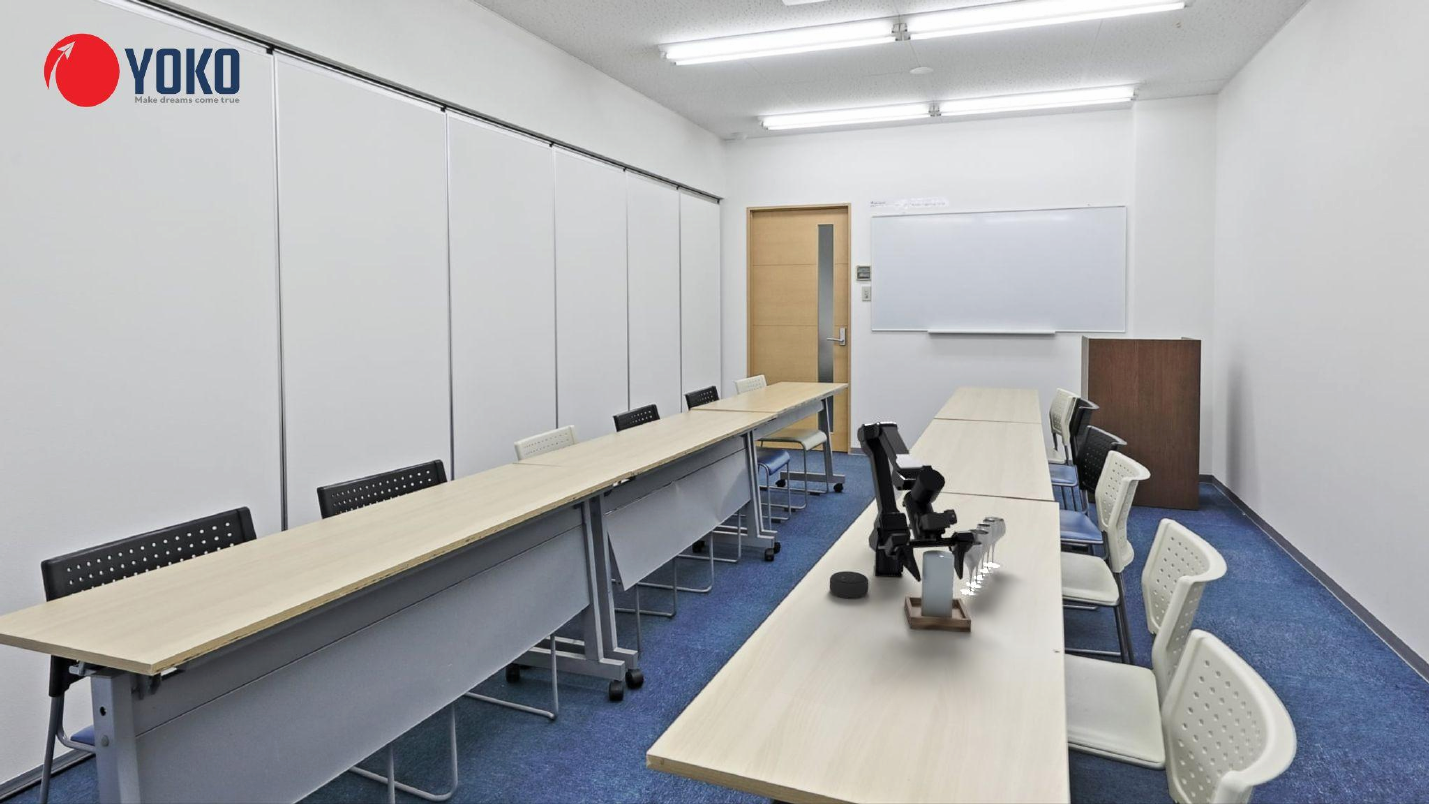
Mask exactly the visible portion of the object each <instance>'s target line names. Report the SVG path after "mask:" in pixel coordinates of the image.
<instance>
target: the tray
mask: <svg viewBox="0 0 1429 804" xmlns="http://www.w3.org/2000/svg"><path fill="white" fill-rule="evenodd" d="M904 609H905V612H906V616H907V621H908V625H909V628H910V629H912V630H926V631H927V630H928V631H945V632H946V631H947V632H965V633H971V632H972V618H971V617H970V615H969V612H968V610H967V608H966V606H965V604H964V602H963V599H962V598H957V597H953V606H952V617H951V618H948V617H929V616H923V615H922V614H921V596H919V595H905V596H904Z"/></svg>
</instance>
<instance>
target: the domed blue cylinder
mask: <svg viewBox="0 0 1429 804" xmlns="http://www.w3.org/2000/svg"><path fill="white" fill-rule="evenodd" d="M921 571H922V572H921V614H922V615H923V616H929V617H948V618H951V617H952V606H953V598H954V575H955V568H954V555H953V554H952V552H950V551H945V550H937V549H936V550H935V549H934V550H933V549H932V550H931V549H929V550H926V551H923V553H922V569H921Z"/></svg>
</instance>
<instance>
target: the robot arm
mask: <svg viewBox="0 0 1429 804" xmlns="http://www.w3.org/2000/svg"><path fill="white" fill-rule="evenodd" d="M856 431H857V433H856V436H857V441H858V442H859V445H860V449H861V451H862V452H863V453H864V454H865V456H867V458H869V459H868V460H869V466H870V472H871V478H872V483H873V489H874V496H875V501H876V506H877V507H876V508H877V515H876V517H875V519H874V521H873V529H872V531H871V532H870V534H869V536H868V546H869V548H871V549H872V550H873V551H874V565H873V571H874V576H876V577H899V578H901V577H903V573H904V567H905V569H906V570H907V571H908V572H909V573H910V574H911V575H912V577H914V579H915V580H916V582H917V583H920V582H922V575H921V573H920V572H921V571H920V570H919V566H918V564H917V561H916V557H915V555H914V549H924V548H928V549H929V548H947V547H948V552H950V553H952V554H953V555H954V572H955V573H956V575H957V578H958V580H962V579H963V578H964V564H965V562H964V555H965V553H966V552H968V551H969V550H970V548H971V547H972V546H973V544H974V543H975V542H976V539H975V536H974V534H973V533H972V532H971V531H968V530H954V532H953V533H952V535H951V536H950V537H942V535H945V534H946V529H951V526H954V525H957V524H958V516H957V513H956V511H955V509H954V508H952V509H951V508H950V509H946V510H943V512H937V511H935V510H934V508H933V505H932V503H934V502H935V501H936V500H937V498H938V497H939V495H940V493H942V490H943V489H944V487H945V485H946V480H945V476H944V475H942V473H941V472H939V471H938V470H936V469H934V468H933V467H932V465H931V464H922V462H921V461H920V460H919V459H917V458H915V457H913V456H912V455H911V453H910V451H909V449H908V447H907V446H906V444H905V442H904V440H903V438H902V436H901V434H900V432H899V427H898V424H897V423H896V422H894V421H878V422H875V423H862V424H861V426H860V427H858V428H857V430H856ZM888 458H889V460H890V462H891V464H892V467H893V471H892V475H891V471H890V465H889V460H888ZM893 485H894V486H895V488H896V489H897V490H898V491H905V492H906V491H907V492H906V493H905V495H903V498H902V500H903V501H902V503H901V504H902V505H901V506H902V508H905V511H906V513H905V512H901V511H900V510H899V508H898V506H897V501H896V499H895V494H894V488H893ZM906 514H907V515H906ZM907 518H908V521H909V523H908V521H907ZM911 532H912V533H911ZM912 535H913V538H911V536H912Z"/></svg>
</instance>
